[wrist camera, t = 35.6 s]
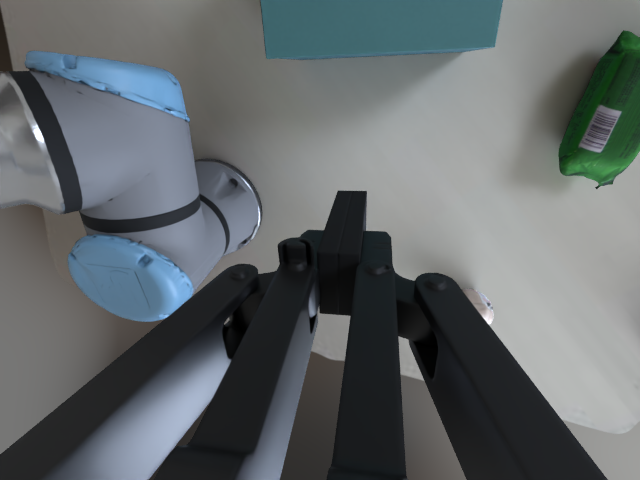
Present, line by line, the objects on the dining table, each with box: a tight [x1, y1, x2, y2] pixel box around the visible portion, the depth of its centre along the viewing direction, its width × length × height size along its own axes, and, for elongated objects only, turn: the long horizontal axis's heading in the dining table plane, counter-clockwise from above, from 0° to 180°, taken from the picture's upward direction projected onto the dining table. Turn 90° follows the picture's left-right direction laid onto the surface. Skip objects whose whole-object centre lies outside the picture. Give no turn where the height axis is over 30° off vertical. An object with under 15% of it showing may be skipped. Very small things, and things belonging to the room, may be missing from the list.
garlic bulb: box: [462, 289, 494, 324], centre depth 51 cm, size 7×6×8 cm
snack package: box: [559, 30, 640, 189], centre depth 37 cm, size 7×16×5 cm, turn 172°
